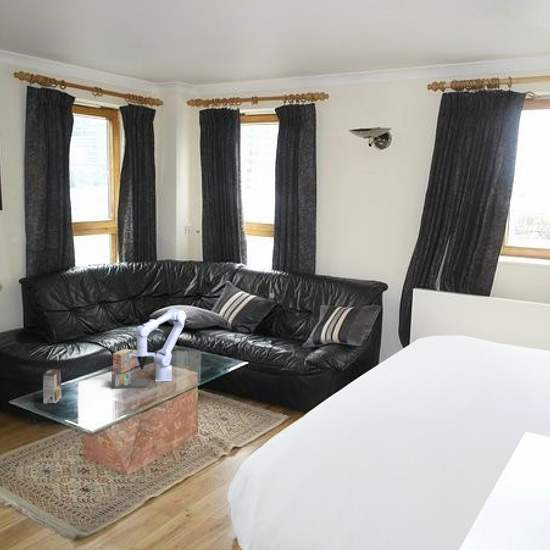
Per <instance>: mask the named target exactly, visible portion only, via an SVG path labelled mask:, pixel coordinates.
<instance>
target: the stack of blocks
mask: <svg viewBox="0 0 550 550" xmlns="http://www.w3.org/2000/svg"><path fill="white" fill-rule="evenodd" d="M131 353H137V349H128V348H124V349H121V350H118V351H116V352H114V353H112V364H113V365H112V372H113V373H114V374H115V373H116V374H125V373H126V372H128V371H130V370H132V369H134V368H133V367H135V366H137V367H138V365H139V366H140V364H139V361H138V359H137V357H131V358H129V354H131ZM131 368H132V369H131ZM135 368H136V367H135Z"/></svg>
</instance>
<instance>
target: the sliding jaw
mask: <svg viewBox="0 0 550 550" xmlns="http://www.w3.org/2000/svg"><path fill="white" fill-rule="evenodd" d="M123 374H124V386H128V384H130V382H131V380H132V379H131V378H132V376H131V372H128V371H127V373H123Z"/></svg>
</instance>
